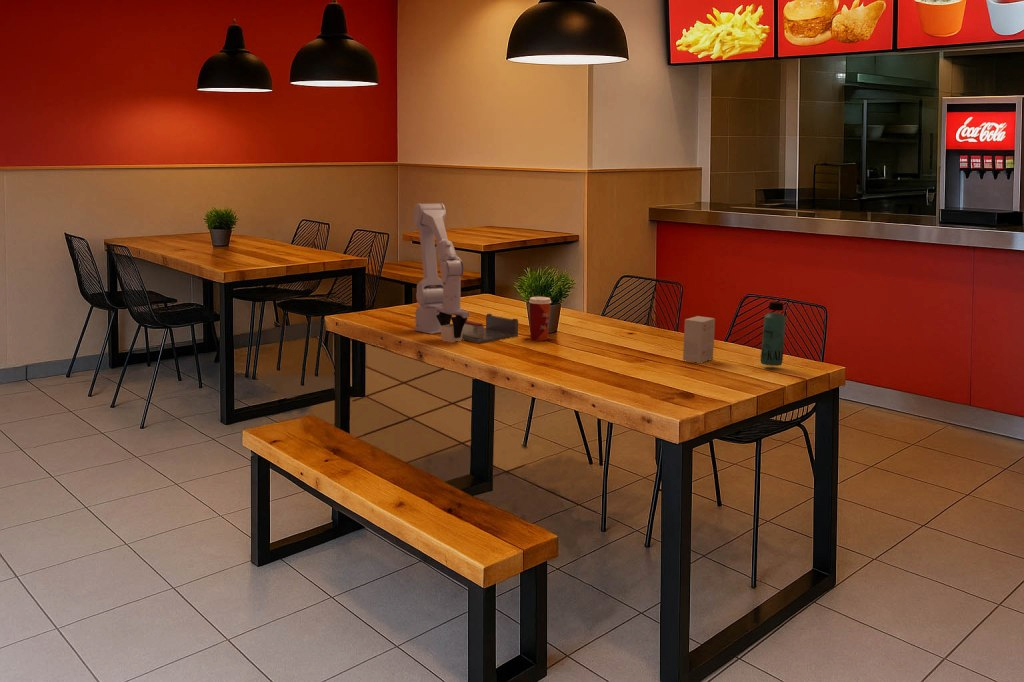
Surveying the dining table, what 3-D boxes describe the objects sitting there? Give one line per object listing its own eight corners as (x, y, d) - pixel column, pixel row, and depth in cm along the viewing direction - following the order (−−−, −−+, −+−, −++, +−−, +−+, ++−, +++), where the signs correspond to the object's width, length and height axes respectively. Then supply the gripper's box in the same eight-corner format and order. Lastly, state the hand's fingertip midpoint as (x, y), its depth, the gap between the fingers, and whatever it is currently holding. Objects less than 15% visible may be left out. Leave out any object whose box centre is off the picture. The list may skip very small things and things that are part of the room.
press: (451, 337, 312) (451, 319, 311) (489, 330, 325) (489, 313, 324) (480, 343, 303) (480, 325, 302) (517, 336, 316) (518, 319, 314)
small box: (695, 356, 289) (697, 315, 287) (713, 359, 285) (715, 318, 283) (682, 360, 283) (684, 319, 281) (700, 364, 279) (703, 321, 277)
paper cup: (548, 342, 307) (549, 300, 304) (525, 340, 309) (526, 299, 306) (552, 337, 315) (553, 296, 312) (530, 336, 316) (530, 295, 313)
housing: (441, 340, 307) (441, 323, 306) (452, 338, 310) (452, 322, 309) (451, 342, 304) (451, 326, 302) (462, 340, 307) (462, 324, 306)
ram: (459, 334, 311) (459, 320, 310) (466, 333, 313) (466, 319, 312) (478, 338, 305) (478, 324, 304) (484, 337, 307) (484, 323, 306)
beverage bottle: (764, 364, 280) (768, 299, 276) (785, 367, 276) (790, 301, 272) (756, 368, 274) (761, 302, 270) (778, 372, 271) (783, 304, 267)
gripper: (428, 294, 306) (428, 334, 309) (457, 300, 296) (457, 341, 299) (443, 292, 311) (443, 331, 314) (473, 297, 301) (473, 338, 304)
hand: (451, 336), depth 307 cm, fingers closed on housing, 5 cm apart
